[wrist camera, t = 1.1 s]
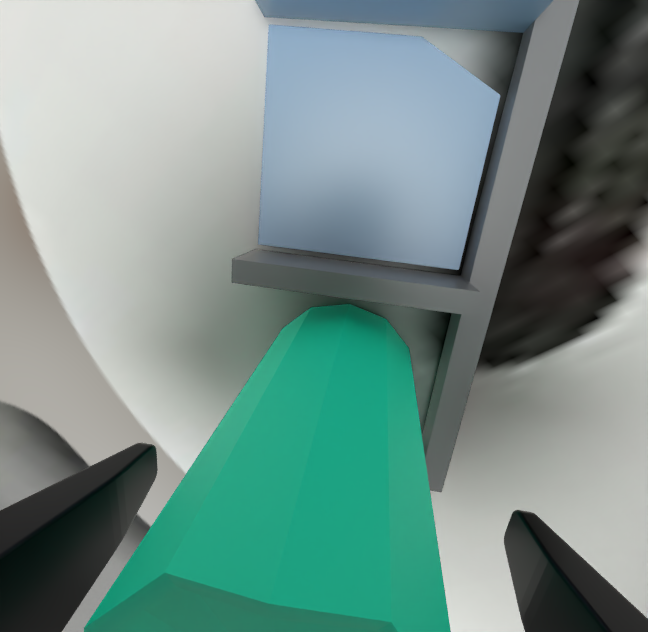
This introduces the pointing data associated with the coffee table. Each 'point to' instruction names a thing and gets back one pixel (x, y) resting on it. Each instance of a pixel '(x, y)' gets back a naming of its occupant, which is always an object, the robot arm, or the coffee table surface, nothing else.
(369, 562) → the candle
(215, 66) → the coffee table surface
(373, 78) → the grey framed panel
